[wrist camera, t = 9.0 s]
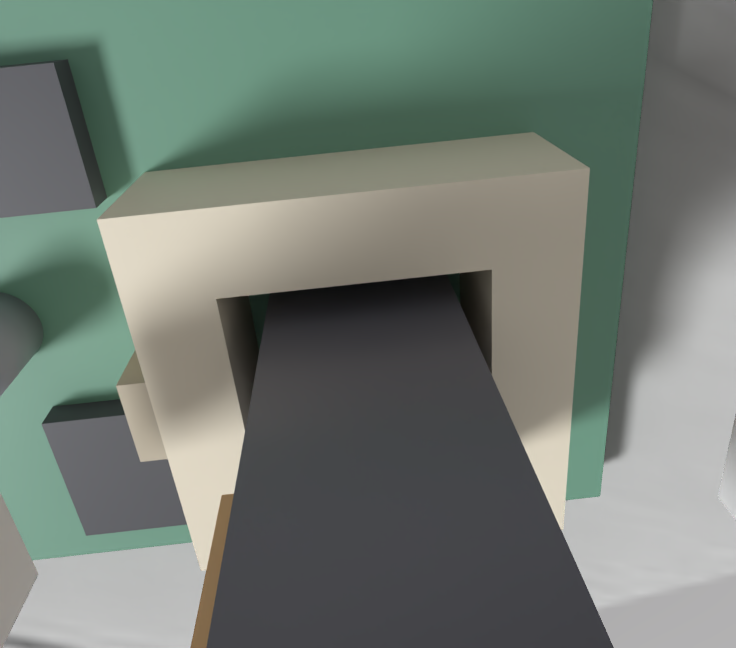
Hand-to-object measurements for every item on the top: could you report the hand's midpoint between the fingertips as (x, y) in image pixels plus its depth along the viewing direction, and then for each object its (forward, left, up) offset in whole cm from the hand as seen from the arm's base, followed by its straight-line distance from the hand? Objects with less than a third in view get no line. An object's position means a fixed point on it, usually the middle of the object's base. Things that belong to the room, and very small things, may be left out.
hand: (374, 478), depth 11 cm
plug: (0, 0, -6) cm, 6 cm away
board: (-2, +1, -7) cm, 8 cm away
